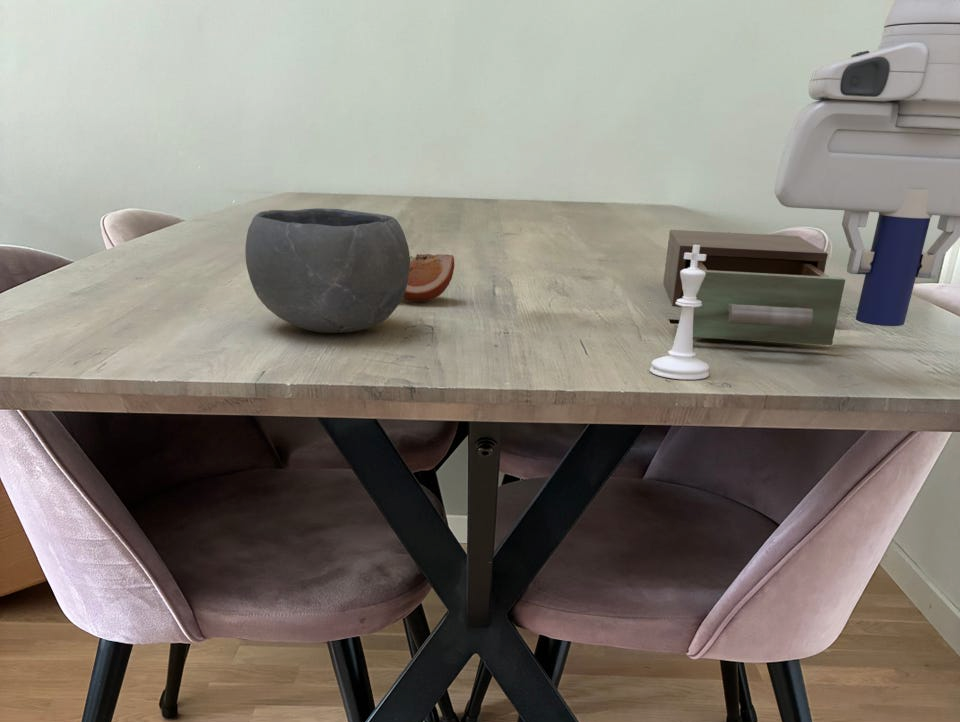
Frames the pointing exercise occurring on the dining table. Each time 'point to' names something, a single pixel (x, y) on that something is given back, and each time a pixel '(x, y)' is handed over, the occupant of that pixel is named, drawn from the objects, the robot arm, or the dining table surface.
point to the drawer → (766, 301)
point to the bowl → (328, 267)
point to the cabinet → (732, 252)
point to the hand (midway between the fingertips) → (889, 275)
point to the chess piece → (685, 328)
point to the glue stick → (895, 262)
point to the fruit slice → (428, 276)
